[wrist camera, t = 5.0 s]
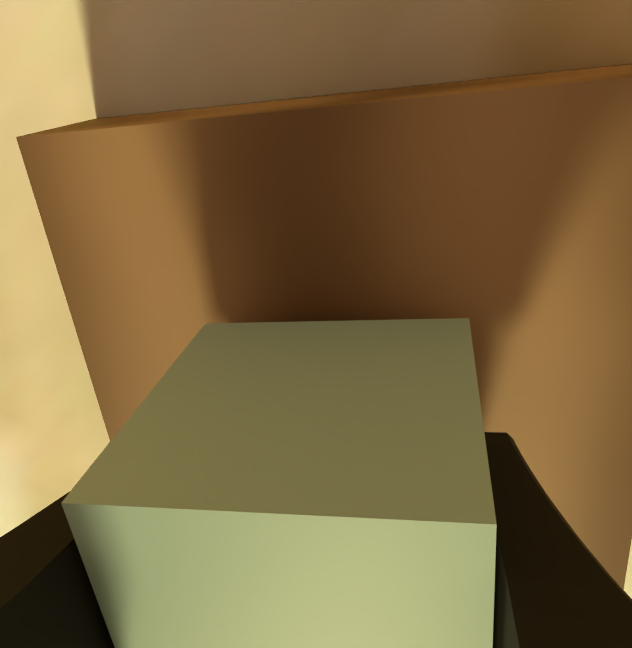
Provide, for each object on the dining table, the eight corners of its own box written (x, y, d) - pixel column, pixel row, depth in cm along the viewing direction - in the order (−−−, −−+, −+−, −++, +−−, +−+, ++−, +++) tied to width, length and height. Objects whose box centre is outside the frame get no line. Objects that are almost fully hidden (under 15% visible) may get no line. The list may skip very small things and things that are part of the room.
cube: (468, 317, 10) (496, 524, 6) (467, 529, 12) (486, 799, 8) (205, 323, 11) (61, 502, 7) (244, 518, 13) (153, 751, 9)
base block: (643, 62, 11) (706, 68, 9) (588, 524, 16) (618, 617, 14) (95, 118, 14) (16, 137, 11) (192, 505, 19) (153, 581, 16)
